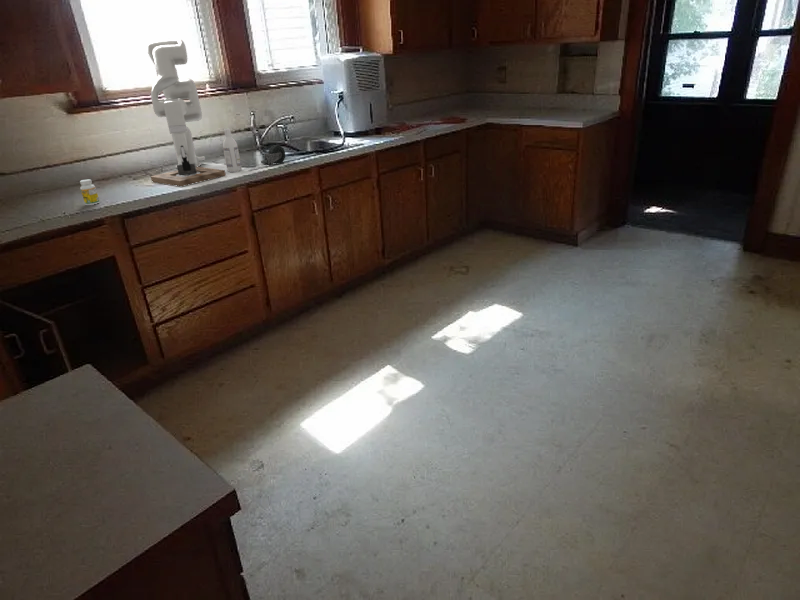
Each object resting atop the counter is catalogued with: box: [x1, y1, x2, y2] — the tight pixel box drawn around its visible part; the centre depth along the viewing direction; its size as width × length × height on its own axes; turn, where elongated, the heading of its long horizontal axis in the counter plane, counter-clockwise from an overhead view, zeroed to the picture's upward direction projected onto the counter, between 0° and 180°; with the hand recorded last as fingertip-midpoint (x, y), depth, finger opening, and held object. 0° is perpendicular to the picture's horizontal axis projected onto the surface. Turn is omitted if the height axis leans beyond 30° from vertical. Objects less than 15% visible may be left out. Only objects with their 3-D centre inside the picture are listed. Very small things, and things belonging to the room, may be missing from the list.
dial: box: [176, 163, 200, 177], centre depth 249 cm, size 11×11×6 cm
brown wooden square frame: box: [150, 166, 227, 187], centre depth 250 cm, size 24×24×3 cm
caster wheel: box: [260, 144, 286, 166], centre depth 269 cm, size 6×10×15 cm
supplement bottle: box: [79, 179, 101, 206], centre depth 213 cm, size 5×5×10 cm
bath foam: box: [222, 128, 243, 173], centre depth 258 cm, size 7×7×20 cm
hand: (187, 169), depth 249 cm, fingers closed on dial, 2 cm apart
